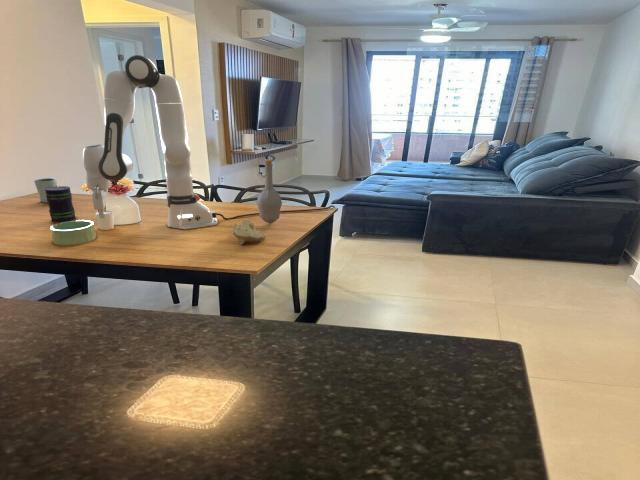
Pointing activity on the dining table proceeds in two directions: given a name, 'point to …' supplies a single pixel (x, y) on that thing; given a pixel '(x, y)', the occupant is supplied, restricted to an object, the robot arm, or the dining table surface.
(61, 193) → the storage jar
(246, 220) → the grey beige rock
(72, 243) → the green round shallow bowl
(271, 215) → the bottle
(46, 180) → the grey cup
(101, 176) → the robot arm
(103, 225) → the shot glass
